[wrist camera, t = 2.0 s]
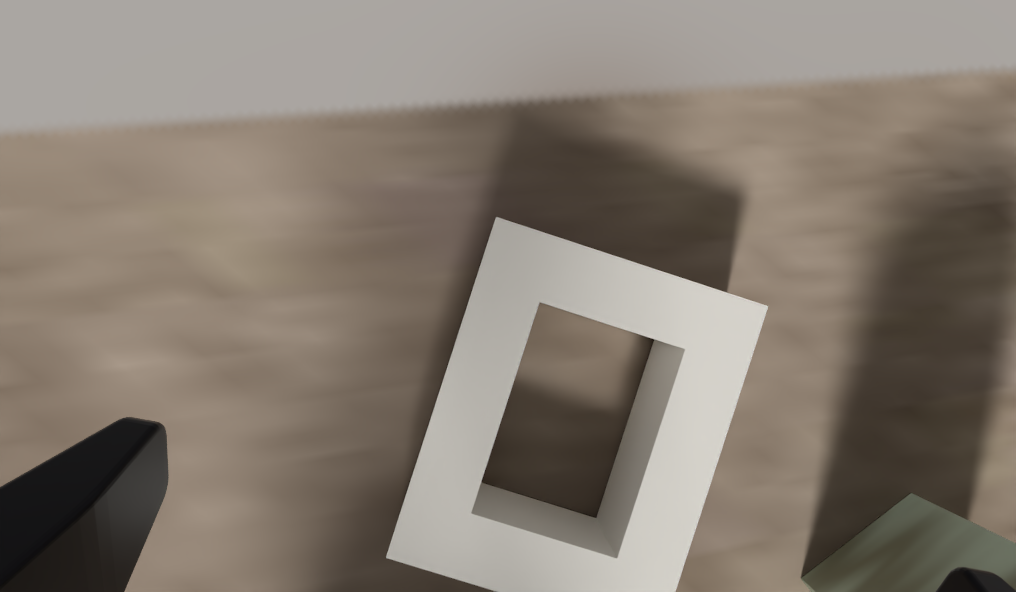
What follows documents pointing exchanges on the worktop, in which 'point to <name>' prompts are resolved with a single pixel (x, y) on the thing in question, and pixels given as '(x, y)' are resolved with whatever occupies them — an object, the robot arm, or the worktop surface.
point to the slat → (913, 552)
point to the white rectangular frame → (644, 446)
